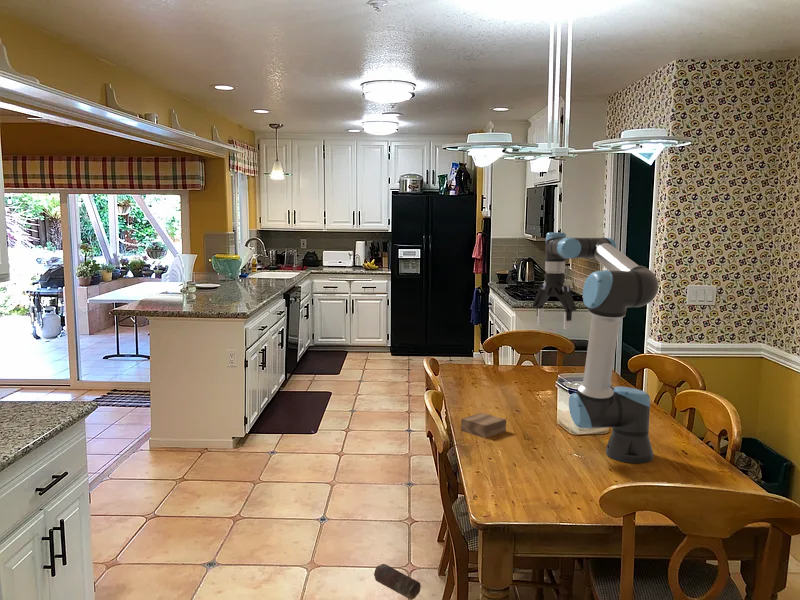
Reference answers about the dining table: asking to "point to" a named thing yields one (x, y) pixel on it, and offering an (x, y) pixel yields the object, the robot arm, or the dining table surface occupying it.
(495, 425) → the walnut block
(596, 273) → the robot arm
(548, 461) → the dining table surface
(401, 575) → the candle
